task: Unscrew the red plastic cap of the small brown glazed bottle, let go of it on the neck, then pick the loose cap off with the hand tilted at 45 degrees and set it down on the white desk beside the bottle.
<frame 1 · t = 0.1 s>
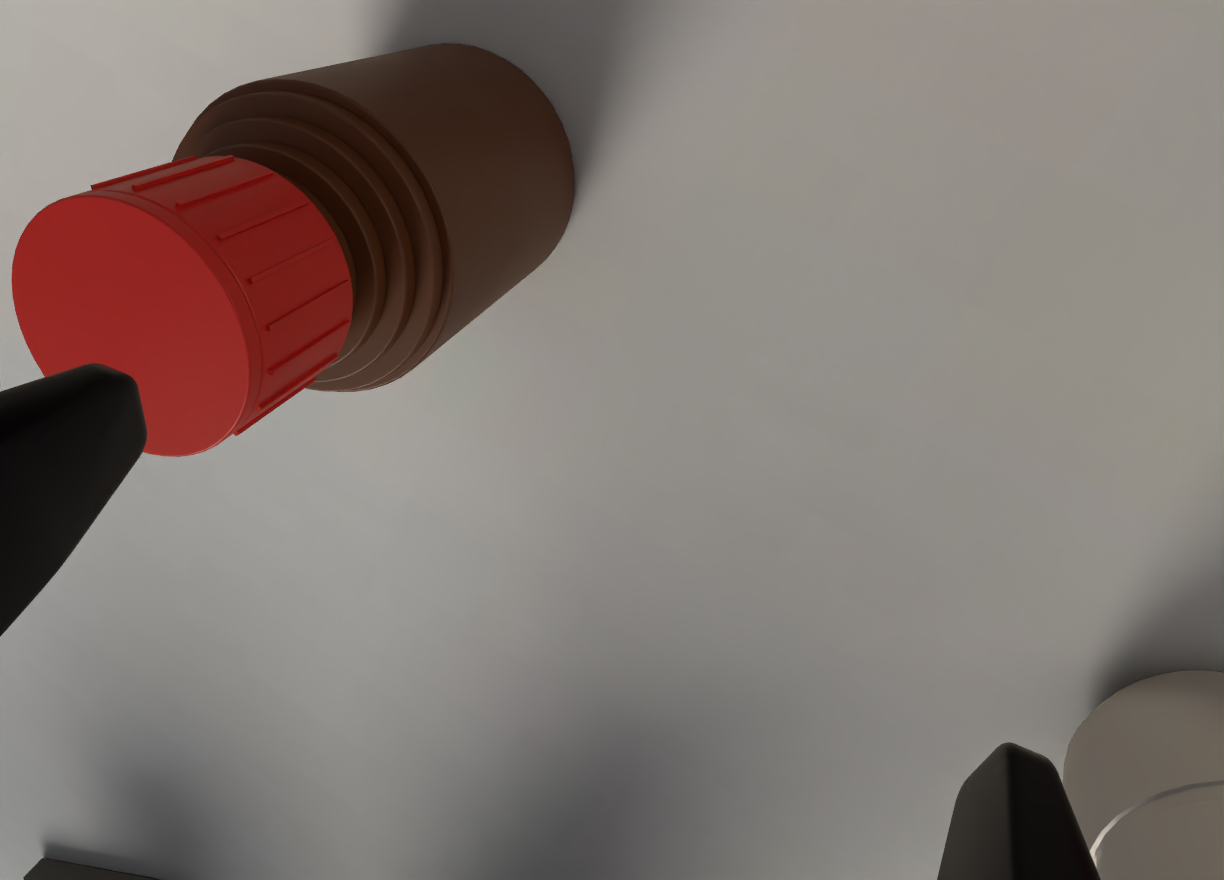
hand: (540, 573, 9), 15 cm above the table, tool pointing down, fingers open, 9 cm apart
sauce bottle: (461, 172, 24), on the table
cap: (142, 327, 15), point 11 cm above the table, screwed on, not yet turned
plastic bottle: (1187, 731, 26), on the table
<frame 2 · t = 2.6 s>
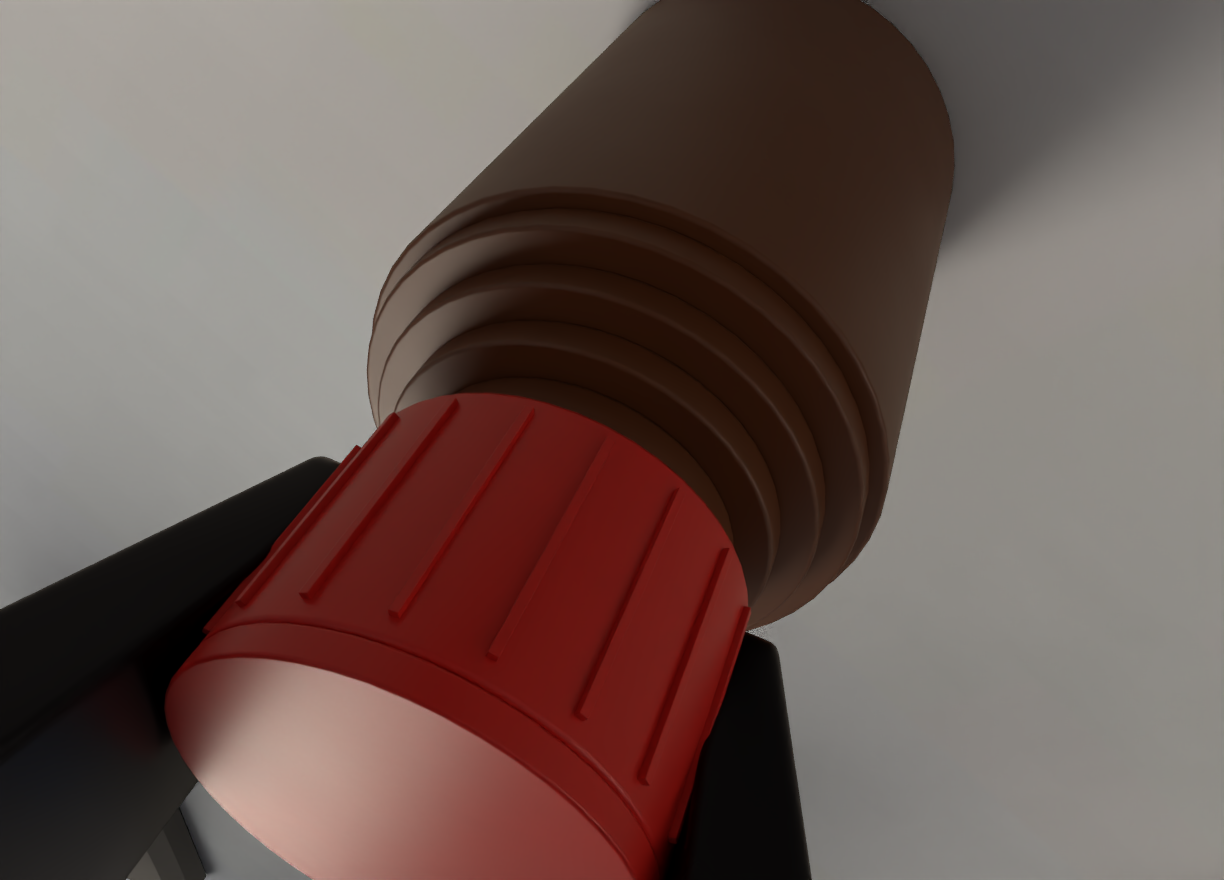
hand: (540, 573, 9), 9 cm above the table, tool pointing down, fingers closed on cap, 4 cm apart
sauce bottle: (758, 170, 16), on the table
cap: (414, 797, 8), point 11 cm above the table, screwed on, not yet turned, touching gripper
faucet: (35, 732, 47), on the table
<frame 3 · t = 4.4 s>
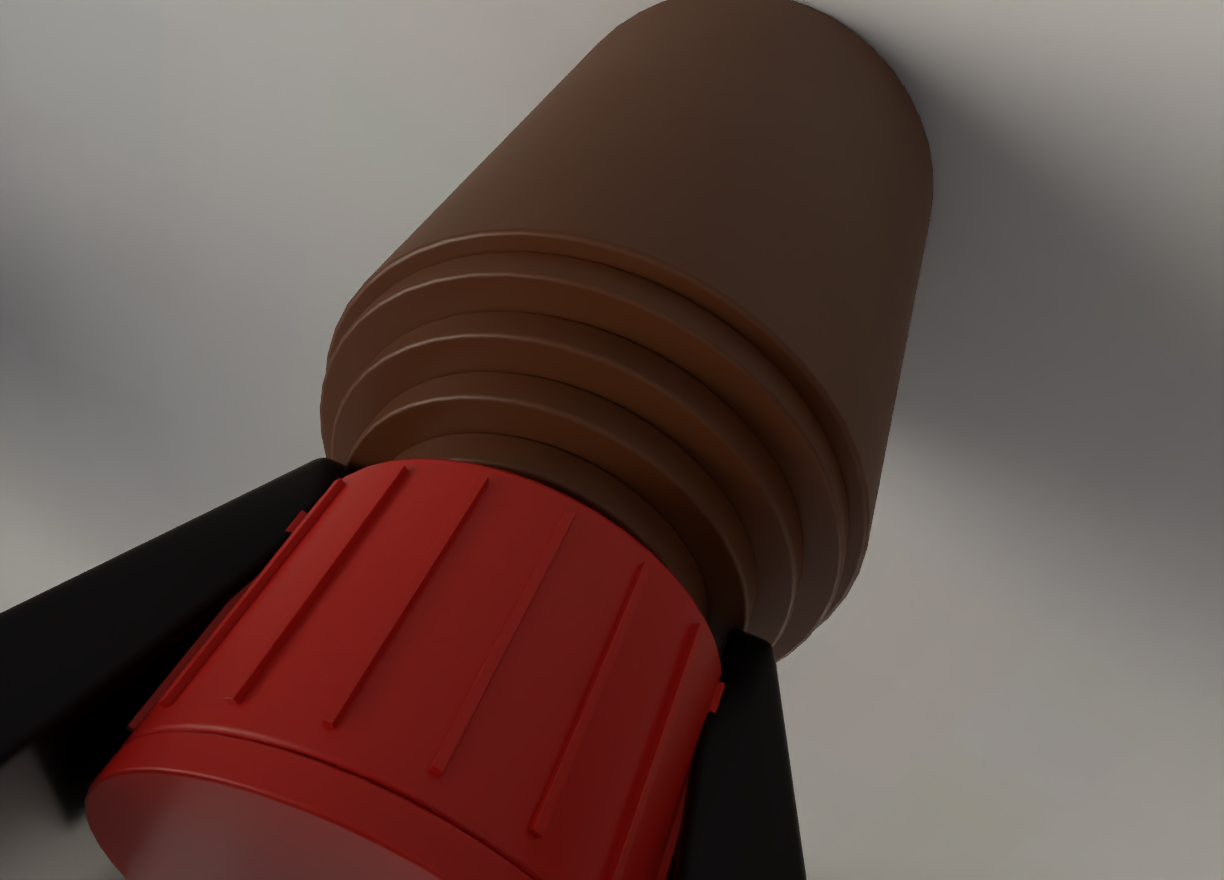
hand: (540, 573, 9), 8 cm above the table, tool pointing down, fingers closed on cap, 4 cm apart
sauce bottle: (732, 192, 15), on the table, touching gripper
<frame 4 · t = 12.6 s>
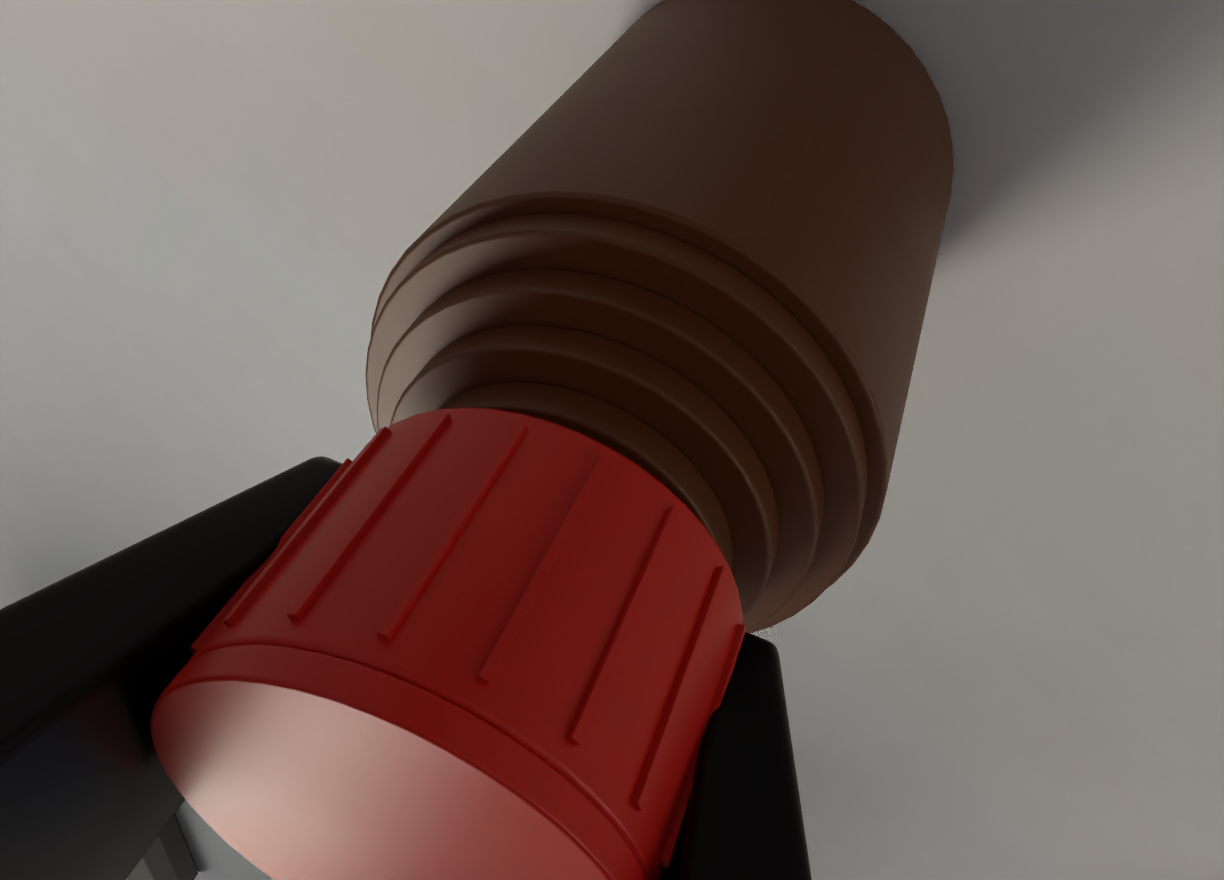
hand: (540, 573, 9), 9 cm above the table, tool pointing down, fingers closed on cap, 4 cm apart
sauce bottle: (757, 173, 16), on the table
cap: (404, 818, 8), point 12 cm above the table, turned 139° so far, risen 0.1 cm, still on its thread, touching gripper
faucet: (26, 729, 46), on the table
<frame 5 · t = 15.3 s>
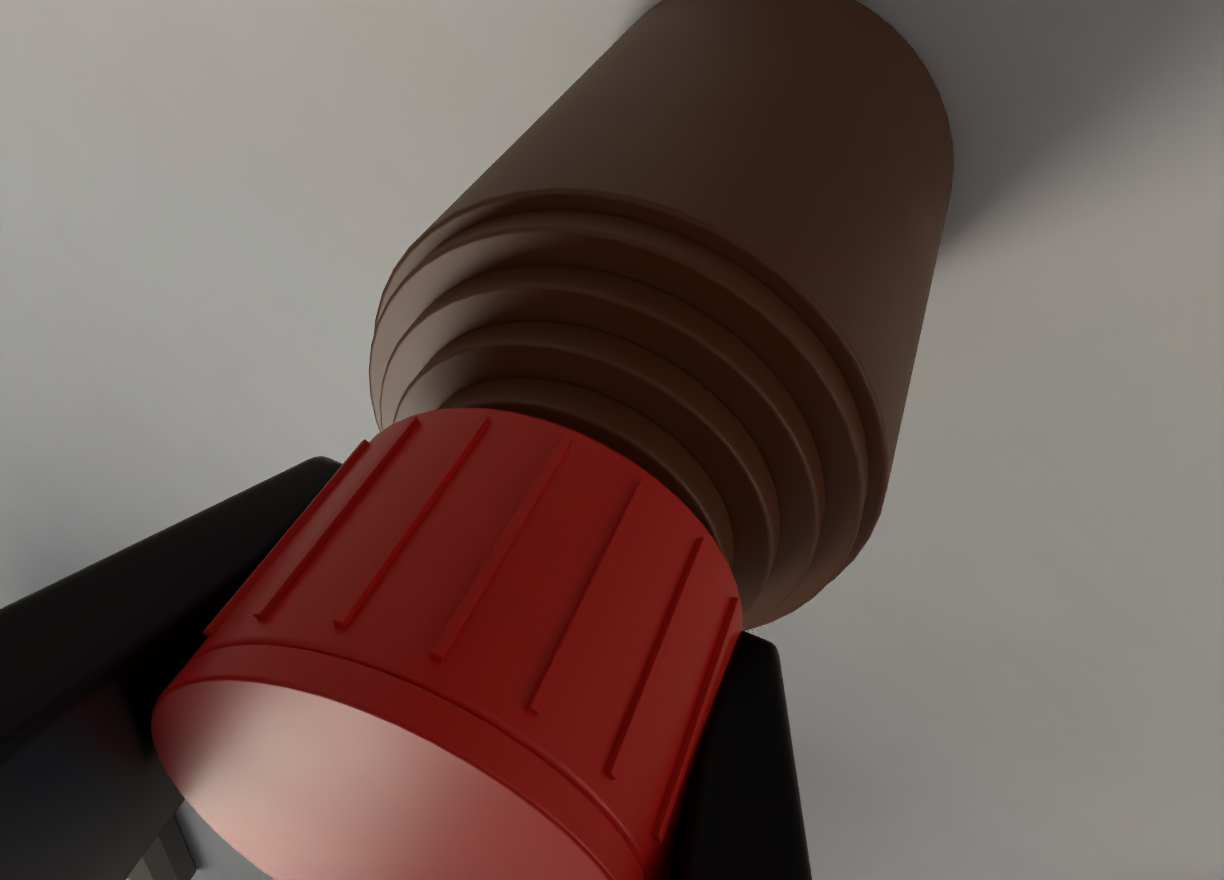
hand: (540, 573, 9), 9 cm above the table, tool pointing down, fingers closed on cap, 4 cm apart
sauce bottle: (758, 171, 16), on the table
cap: (404, 818, 8), point 12 cm above the table, turned 209° so far, risen 0.2 cm, still on its thread, touching gripper
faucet: (25, 726, 46), on the table
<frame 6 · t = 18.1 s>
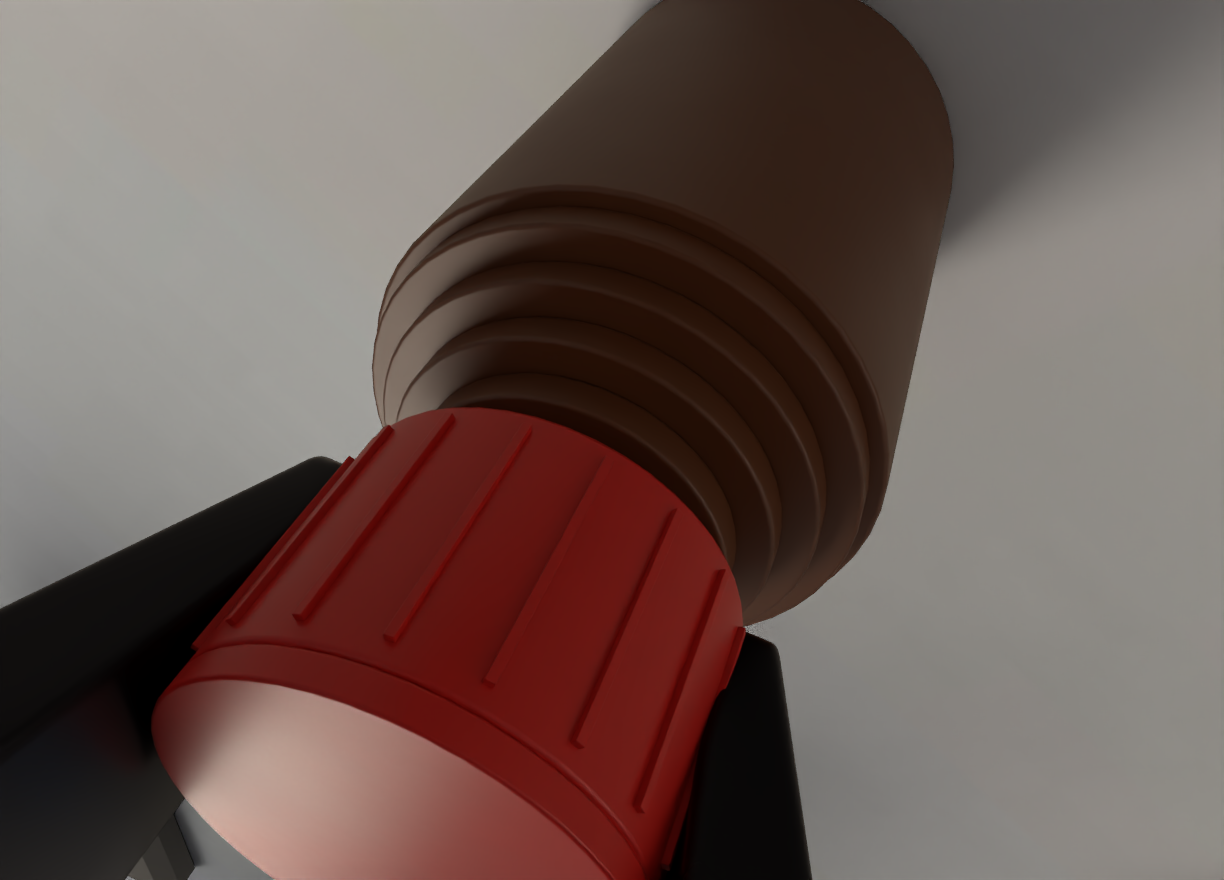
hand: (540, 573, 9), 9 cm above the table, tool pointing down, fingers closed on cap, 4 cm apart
sauce bottle: (759, 169, 16), on the table
cap: (404, 818, 8), point 12 cm above the table, turned 278° so far, risen 0.3 cm, still on its thread, touching gripper
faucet: (24, 723, 46), on the table
when the fingers open (3 cm above the table, at t = 35.4 s): cap drops 2 cm, point 3 cm above the table.
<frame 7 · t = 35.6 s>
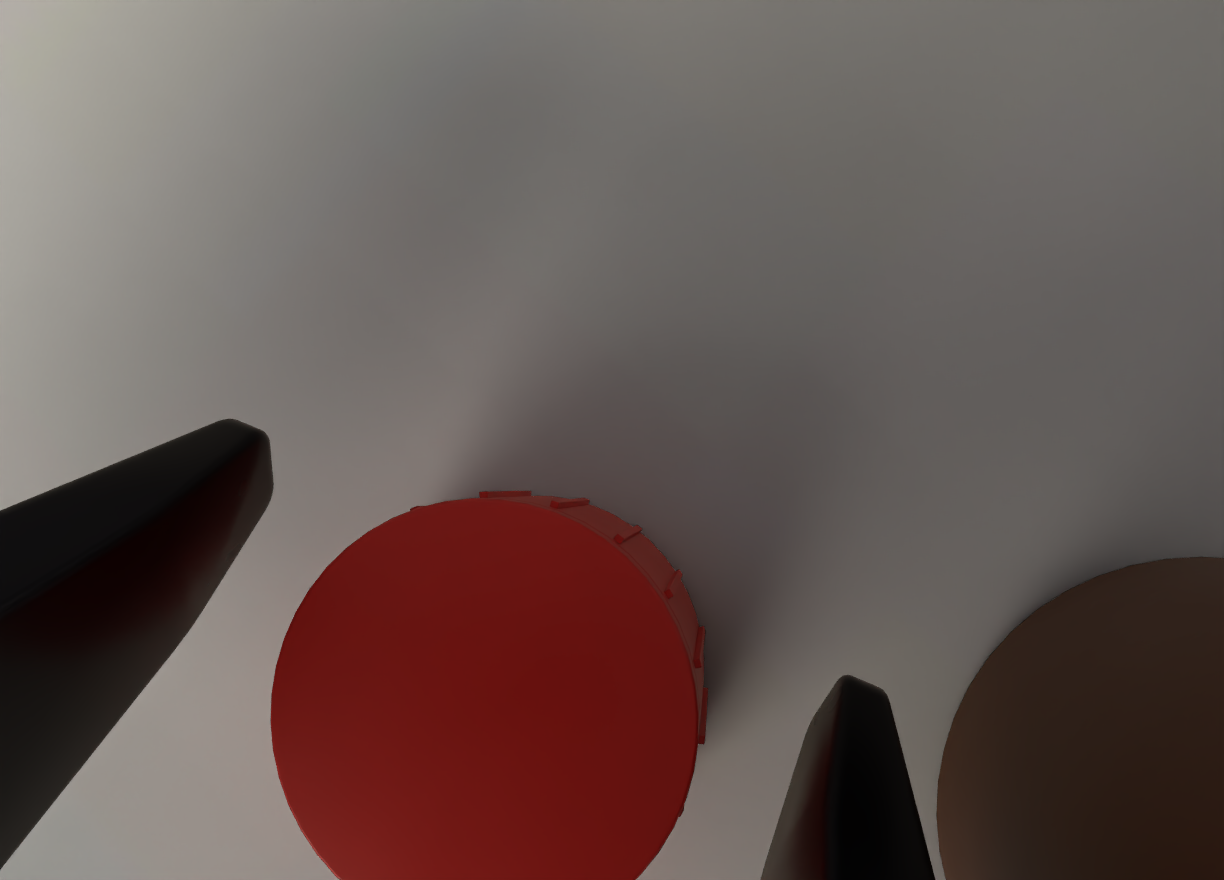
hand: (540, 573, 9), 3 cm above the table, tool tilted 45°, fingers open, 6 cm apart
sauce bottle: (1208, 822, 11), on the table, touching gripper
cap: (486, 710, 9), point 3 cm above the table, off its thread
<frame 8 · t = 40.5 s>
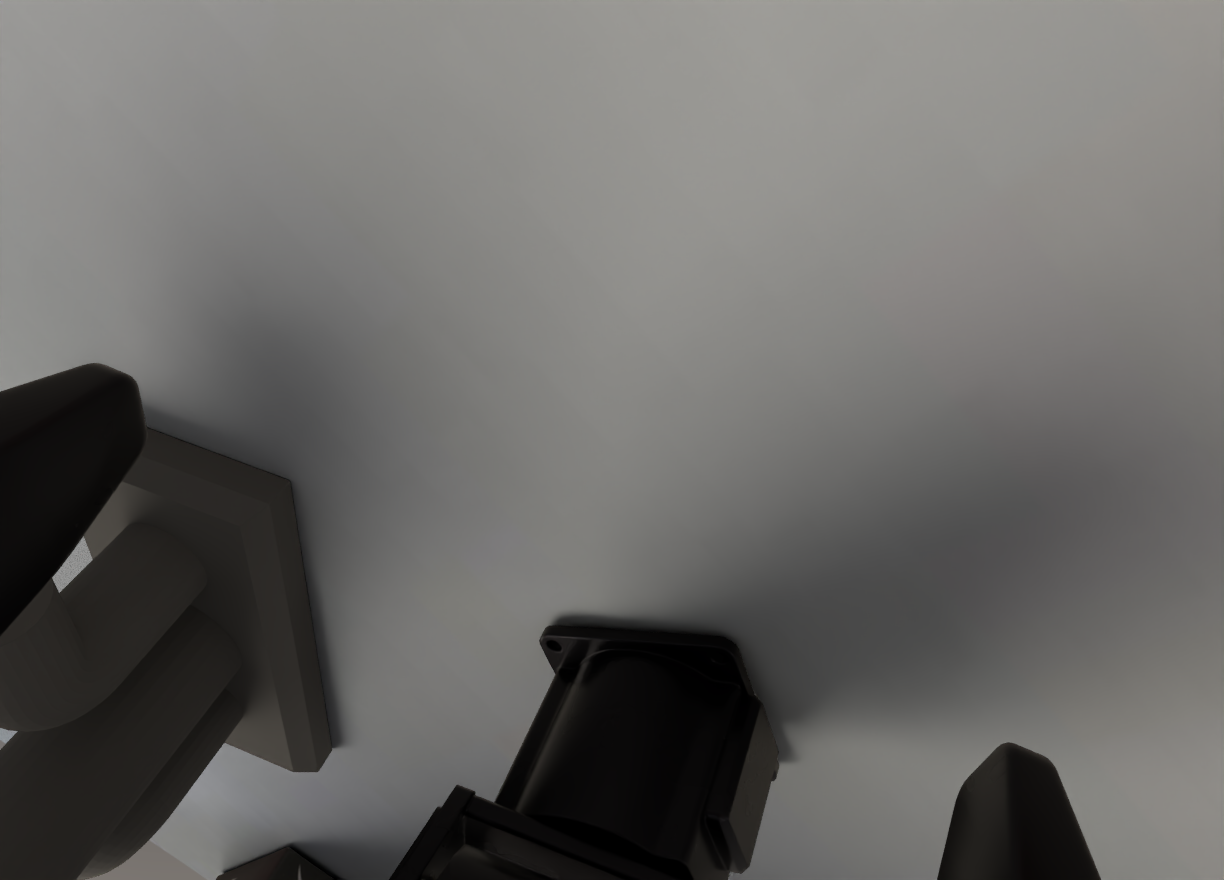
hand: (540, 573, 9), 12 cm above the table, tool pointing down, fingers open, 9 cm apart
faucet: (139, 560, 38), on the table
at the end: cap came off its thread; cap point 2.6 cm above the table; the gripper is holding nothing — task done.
